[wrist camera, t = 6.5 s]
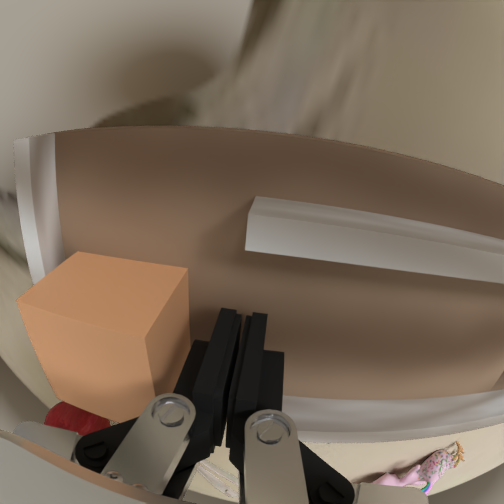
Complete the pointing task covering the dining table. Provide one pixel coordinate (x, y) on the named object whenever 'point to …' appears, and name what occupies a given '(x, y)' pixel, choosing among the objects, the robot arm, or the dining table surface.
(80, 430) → the onion
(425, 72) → the dining table surface
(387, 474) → the pink plastic figure
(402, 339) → the trap tube
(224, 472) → the tweezers
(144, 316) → the block
